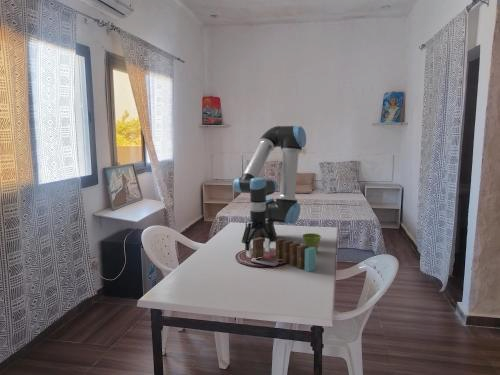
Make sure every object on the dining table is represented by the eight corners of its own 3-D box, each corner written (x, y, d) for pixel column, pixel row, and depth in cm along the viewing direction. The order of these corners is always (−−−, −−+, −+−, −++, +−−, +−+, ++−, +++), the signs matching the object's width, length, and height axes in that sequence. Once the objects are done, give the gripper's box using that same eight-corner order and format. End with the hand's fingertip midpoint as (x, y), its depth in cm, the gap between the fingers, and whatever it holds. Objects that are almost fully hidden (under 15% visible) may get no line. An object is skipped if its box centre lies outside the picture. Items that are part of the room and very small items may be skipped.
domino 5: (296, 267, 170) (297, 246, 169) (304, 265, 174) (304, 244, 172) (300, 269, 169) (300, 247, 167) (307, 266, 172) (308, 245, 170)
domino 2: (275, 259, 181) (275, 239, 179) (282, 257, 184) (283, 237, 183) (278, 261, 179) (278, 240, 178) (286, 258, 182) (286, 238, 181)
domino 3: (282, 262, 177) (282, 242, 176) (289, 259, 181) (289, 239, 179) (285, 263, 176) (285, 243, 174) (293, 261, 179) (293, 240, 177)
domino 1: (252, 259, 182) (252, 239, 181) (260, 256, 185) (260, 237, 184) (255, 260, 180) (255, 240, 179) (263, 257, 184) (263, 238, 182)
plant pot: (319, 256, 186) (319, 239, 184) (300, 254, 189) (300, 237, 187) (321, 250, 194) (322, 234, 193) (303, 248, 198) (304, 232, 196)
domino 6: (304, 270, 167) (304, 249, 165) (311, 267, 170) (312, 246, 169) (308, 272, 165) (308, 250, 164) (315, 269, 169) (316, 247, 167)
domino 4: (289, 265, 174) (289, 244, 172) (296, 262, 177) (297, 242, 176) (293, 266, 172) (293, 245, 171) (300, 263, 176) (300, 243, 174)
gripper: (244, 215, 169) (244, 261, 172) (281, 208, 184) (280, 250, 187) (233, 212, 174) (234, 257, 178) (270, 205, 190) (270, 247, 193)
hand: (258, 254), depth 183 cm, fingers open, 11 cm apart
